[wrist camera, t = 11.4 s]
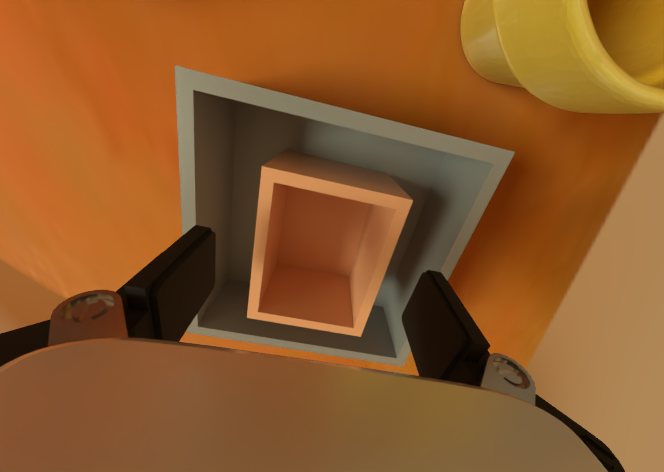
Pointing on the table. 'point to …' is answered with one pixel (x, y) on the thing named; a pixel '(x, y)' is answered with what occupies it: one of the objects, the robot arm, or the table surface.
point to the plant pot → (571, 51)
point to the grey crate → (332, 144)
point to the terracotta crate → (322, 242)
